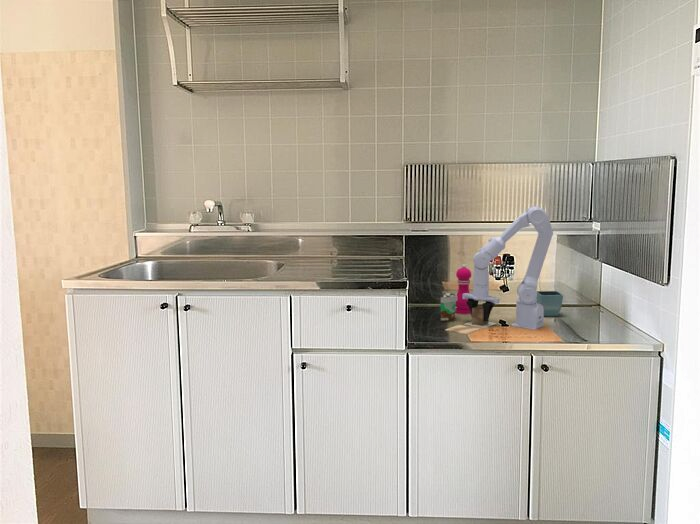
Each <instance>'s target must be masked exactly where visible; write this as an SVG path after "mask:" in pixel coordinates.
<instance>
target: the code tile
mask: <svg viewBox="0 0 700 524" xmlns="http://www.w3.org/2000/svg"><path fill="white" fill-rule="evenodd" d="M493 325H497V323H496V322H491V321H489V323H488V324H486V325H483V326H481V325H475V324H472V320H470V321H469V322H465V323H464V326H470V327H475V328H480V329H482V328H483V329H486V328H489V327H491V326H493Z"/></svg>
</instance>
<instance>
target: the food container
mask: <svg viewBox="0 0 700 524" xmlns="http://www.w3.org/2000/svg"><path fill="white" fill-rule="evenodd" d="M457 300H458V299H457V293H455V292H452V291H442V295H441V296H440V322H441V323H442V322H451V321H455V317H456V316H455V315H456V312H455V309H456V308H457V306H456V301H457Z"/></svg>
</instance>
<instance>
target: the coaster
mask: <svg viewBox="0 0 700 524" xmlns="http://www.w3.org/2000/svg"><path fill="white" fill-rule="evenodd" d="M444 329H445V328H444ZM480 330H481V328H480V327H475V326H469V325H464V324H463V325H462V324H457V325H455V326H450V327H449V328H448V327H447V328H446V329H445V331H446V332H451V333H455V334H460V335H465V336H466V335H470V334H473V333H476V332H477V331H480Z"/></svg>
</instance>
